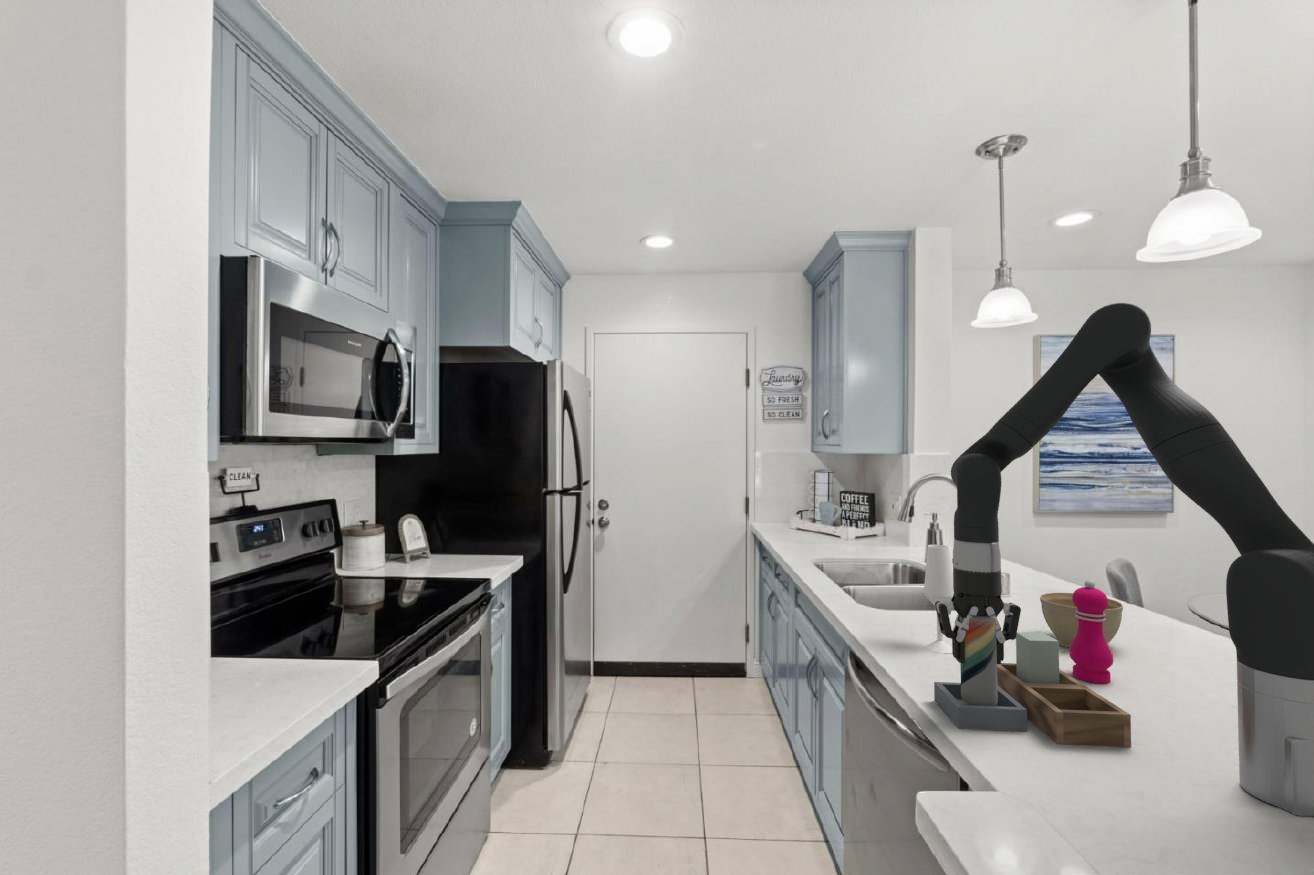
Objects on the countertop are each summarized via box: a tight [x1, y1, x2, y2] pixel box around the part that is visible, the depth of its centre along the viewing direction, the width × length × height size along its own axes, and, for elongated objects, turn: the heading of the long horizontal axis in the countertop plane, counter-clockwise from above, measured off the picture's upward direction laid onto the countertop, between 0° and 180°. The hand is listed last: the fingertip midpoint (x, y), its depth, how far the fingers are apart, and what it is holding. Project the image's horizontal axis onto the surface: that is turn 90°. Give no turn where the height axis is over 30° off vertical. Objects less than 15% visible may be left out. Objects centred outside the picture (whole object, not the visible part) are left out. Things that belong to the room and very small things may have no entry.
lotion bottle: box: [959, 596, 998, 706], centre depth 105 cm, size 6×6×20 cm
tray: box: [933, 681, 1028, 732], centre depth 105 cm, size 11×11×4 cm
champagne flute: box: [923, 544, 954, 654], centre depth 140 cm, size 7×7×24 cm
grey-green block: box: [1015, 631, 1060, 684], centre depth 111 cm, size 5×5×12 cm
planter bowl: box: [1039, 592, 1124, 649], centre depth 142 cm, size 16×16×11 cm
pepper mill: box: [1069, 579, 1114, 685], centre depth 122 cm, size 7×7×20 cm
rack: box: [997, 662, 1132, 748], centre depth 105 cm, size 22×11×5 cm, turn 174°
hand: (978, 661), depth 105 cm, fingers closed on lotion bottle, 5 cm apart
